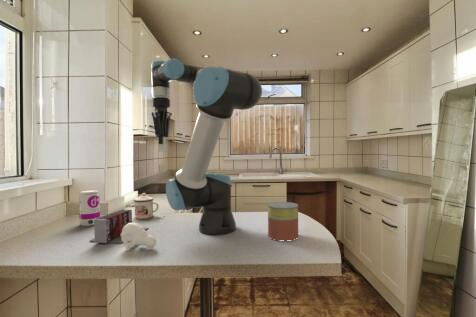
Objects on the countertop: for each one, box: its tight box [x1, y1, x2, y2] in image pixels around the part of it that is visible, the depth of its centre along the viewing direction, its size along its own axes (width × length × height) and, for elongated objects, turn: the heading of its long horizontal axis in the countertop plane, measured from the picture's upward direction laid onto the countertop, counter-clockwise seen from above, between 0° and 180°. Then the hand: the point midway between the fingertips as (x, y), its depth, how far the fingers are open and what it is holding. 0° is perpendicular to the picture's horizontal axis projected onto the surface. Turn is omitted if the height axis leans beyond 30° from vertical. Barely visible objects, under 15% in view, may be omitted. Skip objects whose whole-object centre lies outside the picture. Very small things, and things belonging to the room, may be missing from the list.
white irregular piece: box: [121, 222, 157, 252], centre depth 90 cm, size 6×8×12 cm
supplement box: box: [93, 209, 133, 244], centre depth 102 cm, size 9×5×16 cm
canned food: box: [267, 201, 299, 241], centre depth 100 cm, size 11×11×12 cm
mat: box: [89, 226, 149, 245], centre depth 105 cm, size 13×18×1 cm
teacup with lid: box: [133, 192, 160, 220], centre depth 134 cm, size 12×9×12 cm
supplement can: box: [78, 189, 101, 227], centre depth 122 cm, size 8×8×15 cm
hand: (162, 151), depth 119 cm, fingers closed
